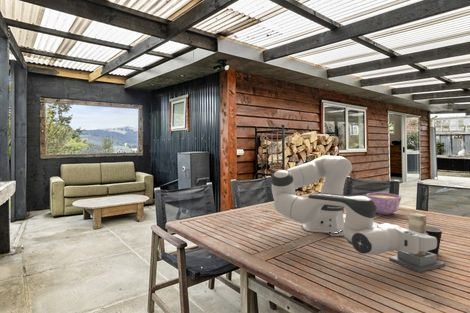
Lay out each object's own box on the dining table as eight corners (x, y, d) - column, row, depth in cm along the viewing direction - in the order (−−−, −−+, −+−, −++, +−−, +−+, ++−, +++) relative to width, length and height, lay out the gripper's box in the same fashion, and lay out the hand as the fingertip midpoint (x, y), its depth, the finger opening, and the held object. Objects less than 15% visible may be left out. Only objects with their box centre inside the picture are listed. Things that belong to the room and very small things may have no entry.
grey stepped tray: (419, 272, 99) (419, 261, 99) (389, 259, 110) (389, 249, 110) (445, 265, 104) (445, 255, 104) (413, 254, 115) (414, 244, 115)
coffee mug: (442, 257, 111) (443, 233, 111) (416, 253, 116) (417, 229, 116) (439, 248, 121) (440, 225, 121) (416, 244, 126) (416, 222, 125)
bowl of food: (407, 216, 173) (408, 198, 172) (375, 217, 173) (375, 198, 173) (390, 209, 193) (390, 192, 192) (361, 209, 193) (361, 192, 193)
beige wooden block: (418, 259, 104) (419, 216, 104) (407, 255, 108) (408, 214, 107) (425, 257, 106) (426, 215, 105) (414, 253, 110) (416, 213, 109)
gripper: (369, 237, 111) (394, 232, 117) (420, 256, 93) (446, 250, 98) (369, 221, 111) (394, 217, 116) (420, 237, 92) (447, 232, 97)
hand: (418, 232), depth 107 cm, fingers closed on beige wooden block, 4 cm apart
